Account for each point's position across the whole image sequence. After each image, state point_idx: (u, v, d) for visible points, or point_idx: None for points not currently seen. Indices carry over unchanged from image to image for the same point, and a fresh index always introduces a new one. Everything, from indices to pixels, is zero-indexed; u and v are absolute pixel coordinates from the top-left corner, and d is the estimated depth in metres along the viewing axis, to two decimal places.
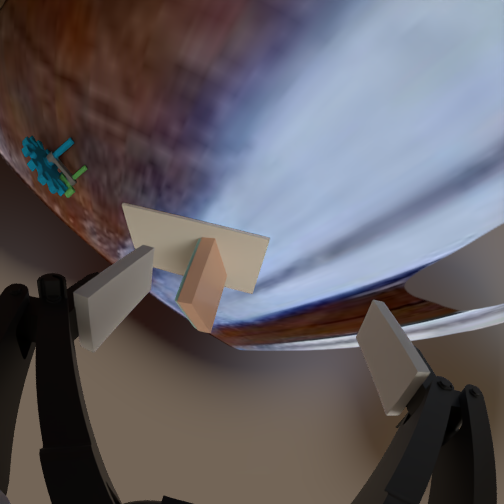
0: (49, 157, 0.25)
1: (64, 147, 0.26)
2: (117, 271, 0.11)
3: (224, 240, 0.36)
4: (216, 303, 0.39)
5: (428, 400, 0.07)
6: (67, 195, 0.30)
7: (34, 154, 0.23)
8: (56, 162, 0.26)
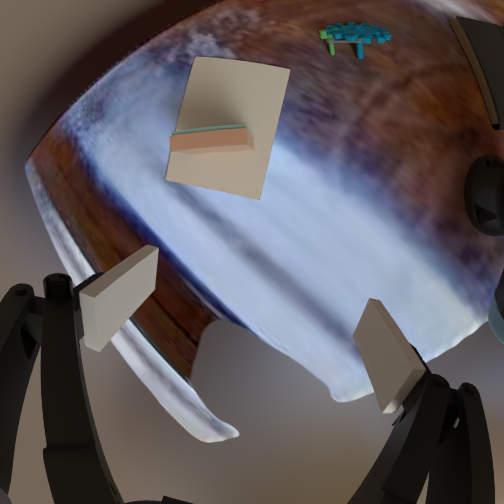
0: None
1: (361, 51, 0.30)
2: (122, 271, 0.11)
3: (252, 159, 0.38)
4: (189, 152, 0.33)
5: (424, 398, 0.07)
6: (323, 32, 0.28)
7: None
8: (356, 41, 0.29)
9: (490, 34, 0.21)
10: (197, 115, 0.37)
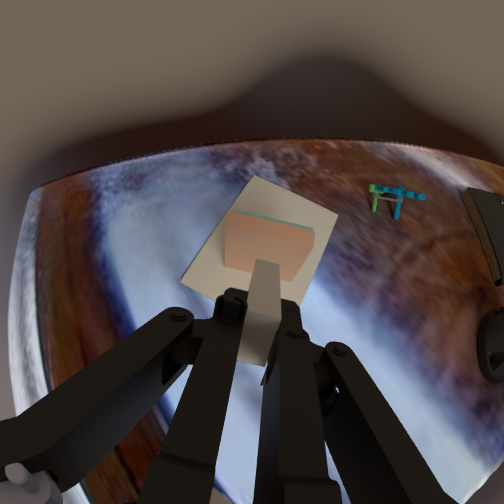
0: (402, 199, 0.41)
1: (398, 212, 0.42)
2: (262, 286, 0.13)
3: (287, 290, 0.35)
4: (232, 248, 0.31)
5: (282, 356, 0.09)
6: (373, 185, 0.41)
7: None
8: (396, 200, 0.41)
9: (491, 201, 0.47)
10: None
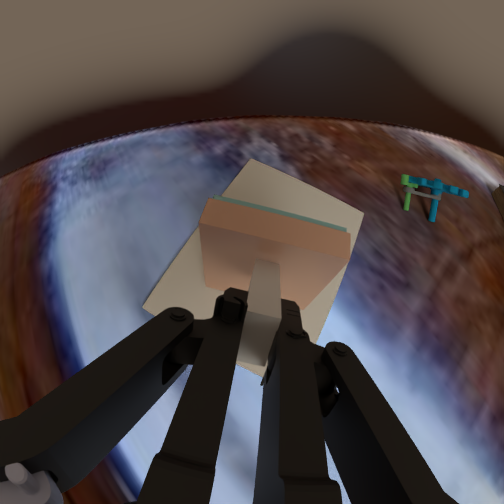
0: (440, 196, 0.29)
1: (434, 212, 0.30)
2: (262, 286, 0.13)
3: None
4: (214, 261, 0.19)
5: (282, 356, 0.09)
6: (406, 176, 0.29)
7: None
8: (434, 197, 0.30)
9: None
10: None
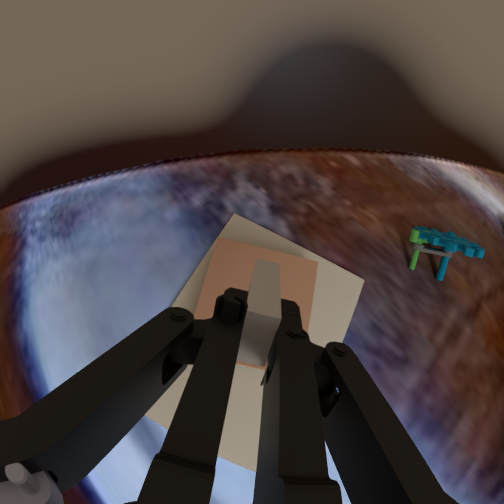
0: (452, 253, 0.26)
1: (444, 270, 0.26)
2: (262, 286, 0.13)
3: None
4: (214, 286, 0.22)
5: (282, 356, 0.09)
6: (417, 232, 0.25)
7: None
8: (445, 255, 0.26)
9: None
10: None
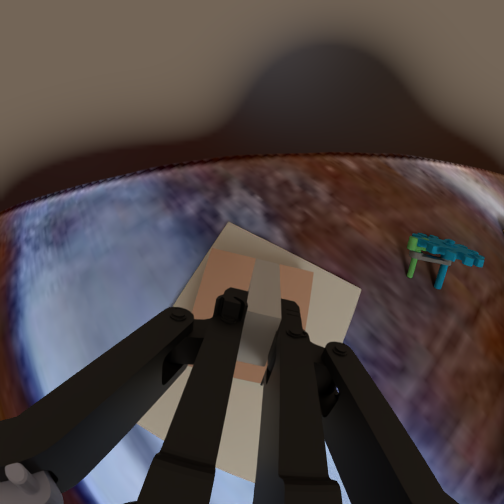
0: (451, 261, 0.25)
1: (442, 279, 0.26)
2: (262, 286, 0.13)
3: None
4: (207, 298, 0.21)
5: (282, 356, 0.09)
6: (415, 240, 0.25)
7: None
8: (444, 263, 0.25)
9: None
10: None
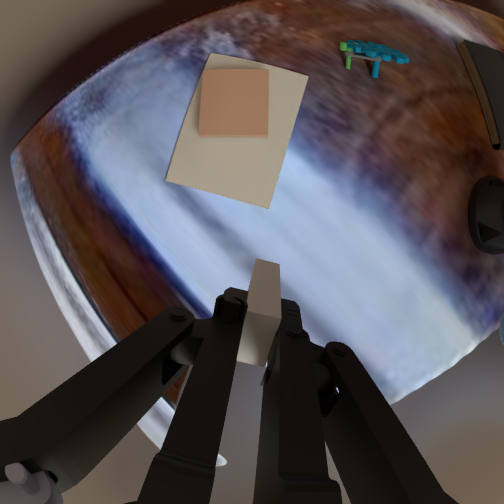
0: (381, 58, 0.29)
1: (376, 70, 0.31)
2: (262, 286, 0.13)
3: (264, 164, 0.36)
4: (207, 97, 0.32)
5: (282, 356, 0.09)
6: (344, 44, 0.29)
7: None
8: (374, 59, 0.30)
9: (493, 59, 0.27)
10: None
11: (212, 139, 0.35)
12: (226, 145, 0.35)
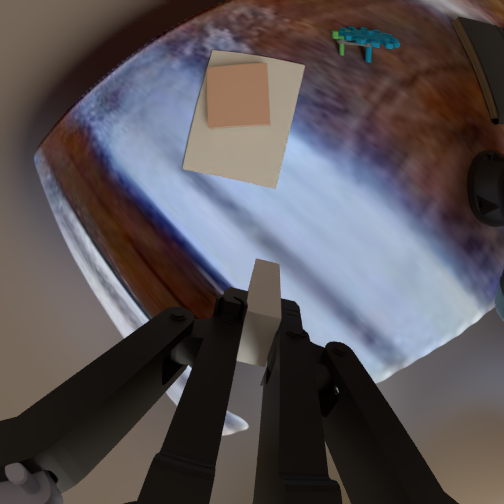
0: None
1: (369, 55, 0.32)
2: (262, 286, 0.13)
3: (269, 149, 0.39)
4: (213, 92, 0.35)
5: (282, 356, 0.09)
6: (335, 33, 0.29)
7: None
8: (365, 45, 0.30)
9: (490, 34, 0.23)
10: None
11: (221, 129, 0.39)
12: (234, 134, 0.39)
